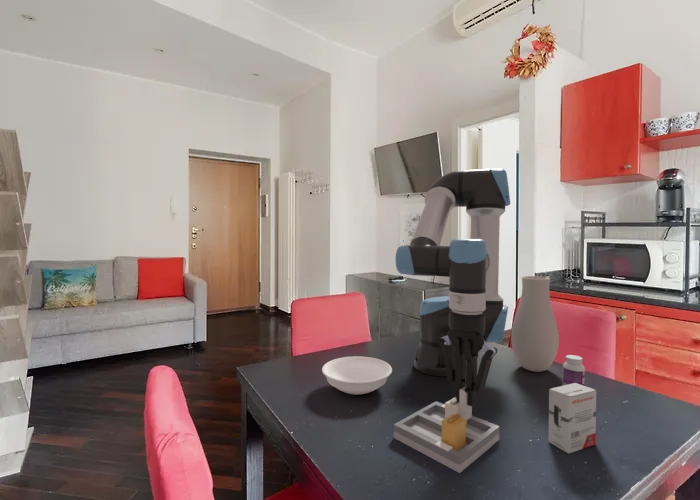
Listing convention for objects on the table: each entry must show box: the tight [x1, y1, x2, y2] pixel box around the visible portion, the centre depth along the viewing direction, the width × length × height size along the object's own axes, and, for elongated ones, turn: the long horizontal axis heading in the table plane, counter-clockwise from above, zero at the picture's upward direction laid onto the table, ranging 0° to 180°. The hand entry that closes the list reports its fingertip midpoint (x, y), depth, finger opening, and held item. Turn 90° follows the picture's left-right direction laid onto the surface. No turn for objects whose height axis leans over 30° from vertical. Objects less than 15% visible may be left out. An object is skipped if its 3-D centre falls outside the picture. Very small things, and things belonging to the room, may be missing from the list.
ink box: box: [548, 383, 597, 455], centre depth 77 cm, size 8×5×12 cm, turn 112°
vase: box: [510, 275, 560, 373], centre depth 119 cm, size 14×14×30 cm
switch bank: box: [393, 401, 500, 474], centre depth 79 cm, size 16×16×3 cm
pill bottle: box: [561, 354, 586, 386], centre depth 103 cm, size 5×5×10 cm
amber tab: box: [442, 414, 466, 451], centre depth 74 cm, size 3×4×6 cm
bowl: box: [321, 355, 393, 396], centre depth 104 cm, size 20×20×6 cm
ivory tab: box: [444, 396, 467, 425], centre depth 82 cm, size 3×4×6 cm
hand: (465, 417), depth 80 cm, fingers closed
